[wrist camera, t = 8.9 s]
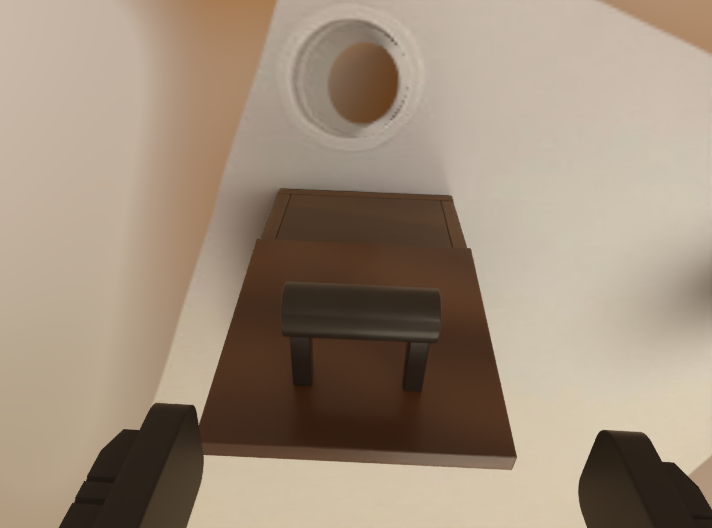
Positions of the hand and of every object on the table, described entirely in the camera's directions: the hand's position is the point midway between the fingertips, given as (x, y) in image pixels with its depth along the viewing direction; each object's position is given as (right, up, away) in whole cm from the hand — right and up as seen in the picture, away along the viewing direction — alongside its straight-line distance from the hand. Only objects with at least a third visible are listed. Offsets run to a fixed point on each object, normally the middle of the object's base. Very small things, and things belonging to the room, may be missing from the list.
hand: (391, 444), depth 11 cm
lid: (-1, +1, +12) cm, 12 cm away
